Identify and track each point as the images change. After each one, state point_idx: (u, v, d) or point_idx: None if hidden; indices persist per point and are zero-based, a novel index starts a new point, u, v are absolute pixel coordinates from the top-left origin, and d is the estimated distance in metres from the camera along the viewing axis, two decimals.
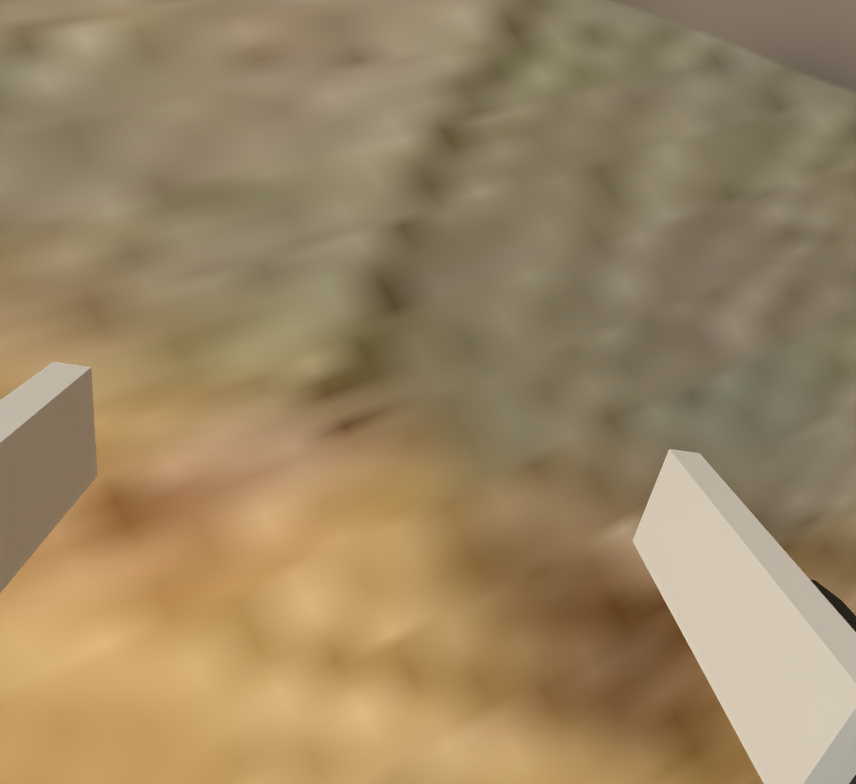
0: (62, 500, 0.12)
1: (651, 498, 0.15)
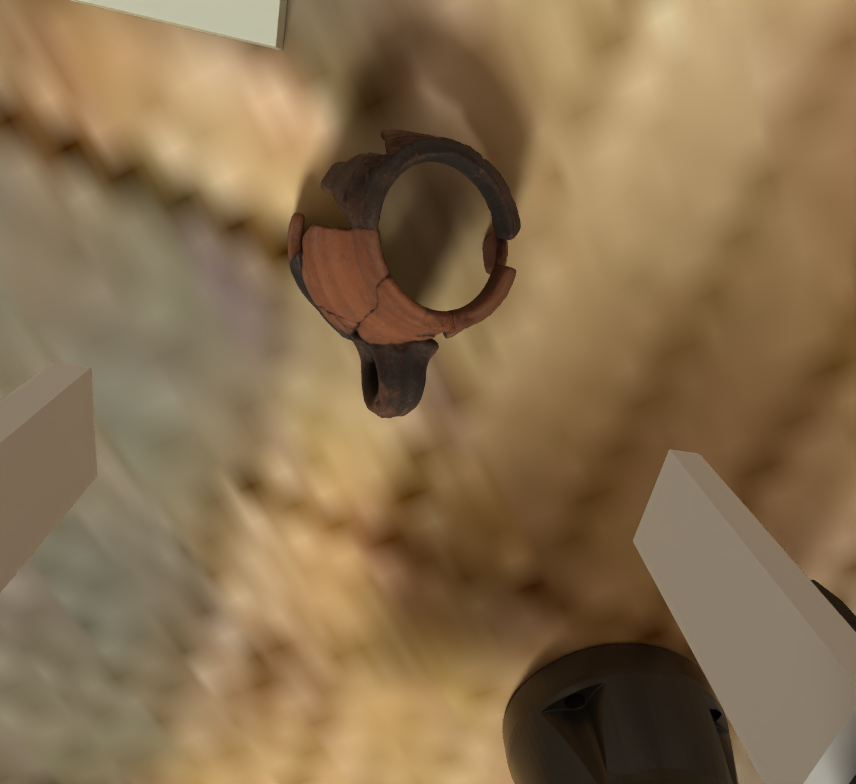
0: (62, 501, 0.12)
1: (651, 497, 0.15)
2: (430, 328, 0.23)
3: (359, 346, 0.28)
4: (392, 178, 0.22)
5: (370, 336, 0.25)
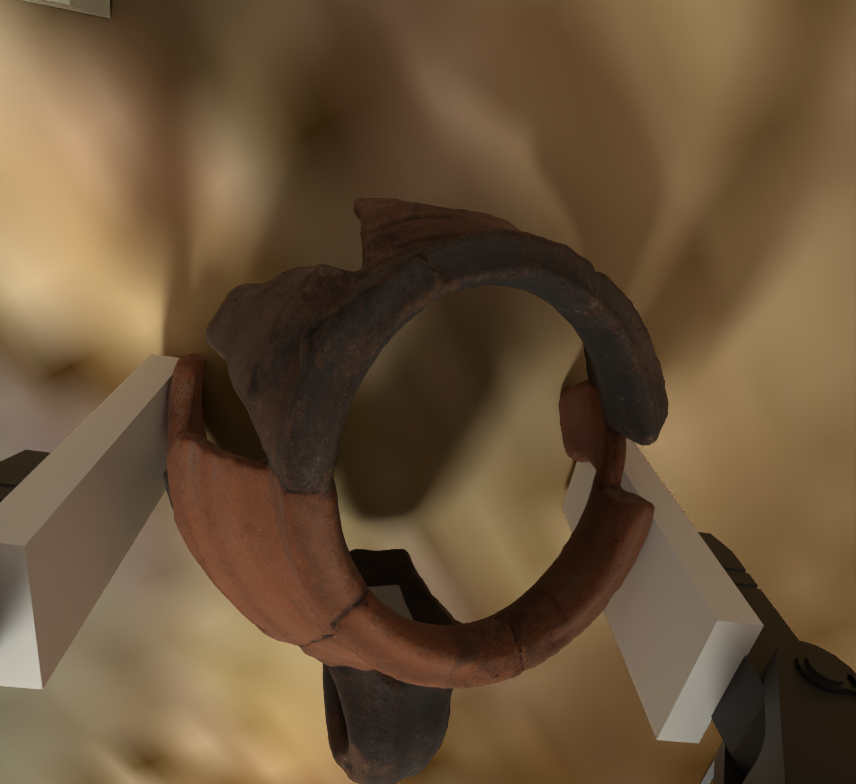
0: (162, 480, 0.13)
1: (577, 465, 0.15)
2: (467, 687, 0.10)
3: None
4: (372, 352, 0.08)
5: None
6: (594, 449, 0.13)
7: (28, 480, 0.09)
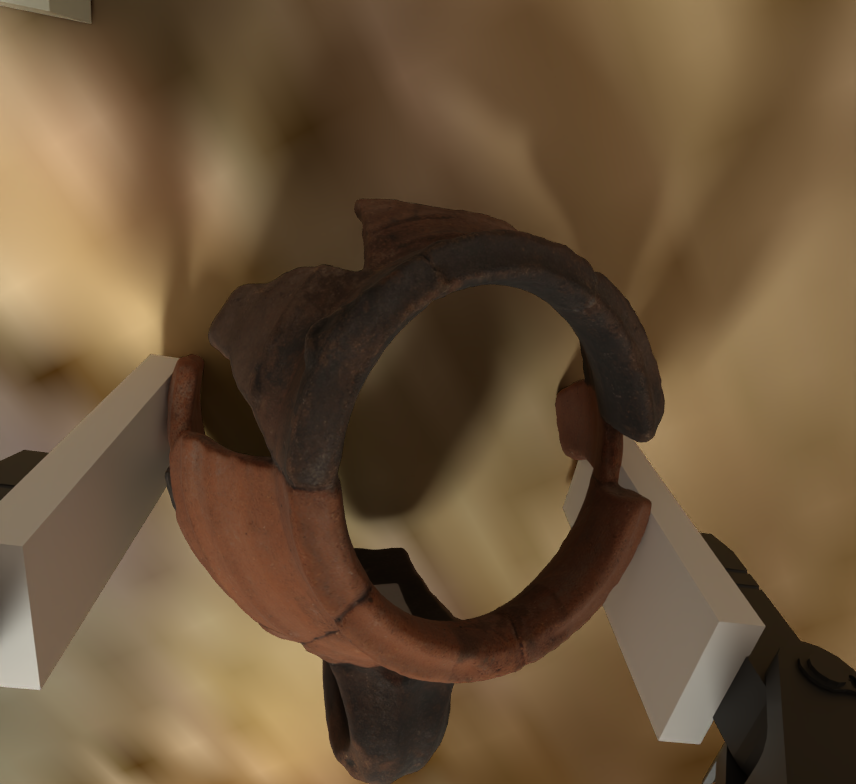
0: (161, 480, 0.13)
1: (578, 465, 0.15)
2: (469, 681, 0.10)
3: None
4: (376, 351, 0.08)
5: None
6: (591, 447, 0.13)
7: (26, 480, 0.09)
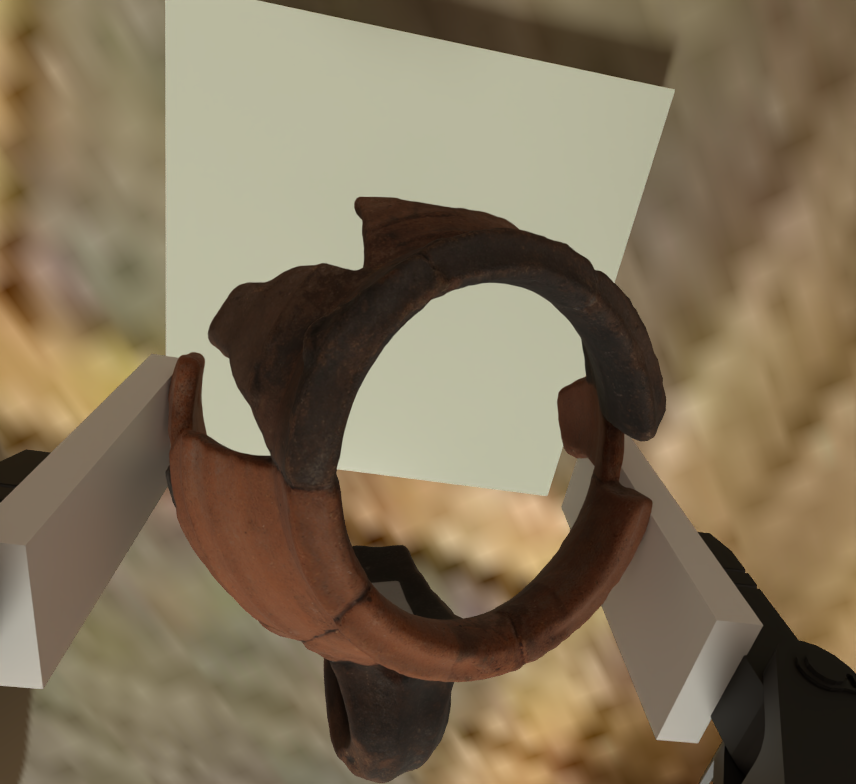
0: (162, 480, 0.13)
1: (577, 465, 0.15)
2: (468, 680, 0.10)
3: None
4: (374, 350, 0.08)
5: None
6: (592, 445, 0.13)
7: (28, 480, 0.09)
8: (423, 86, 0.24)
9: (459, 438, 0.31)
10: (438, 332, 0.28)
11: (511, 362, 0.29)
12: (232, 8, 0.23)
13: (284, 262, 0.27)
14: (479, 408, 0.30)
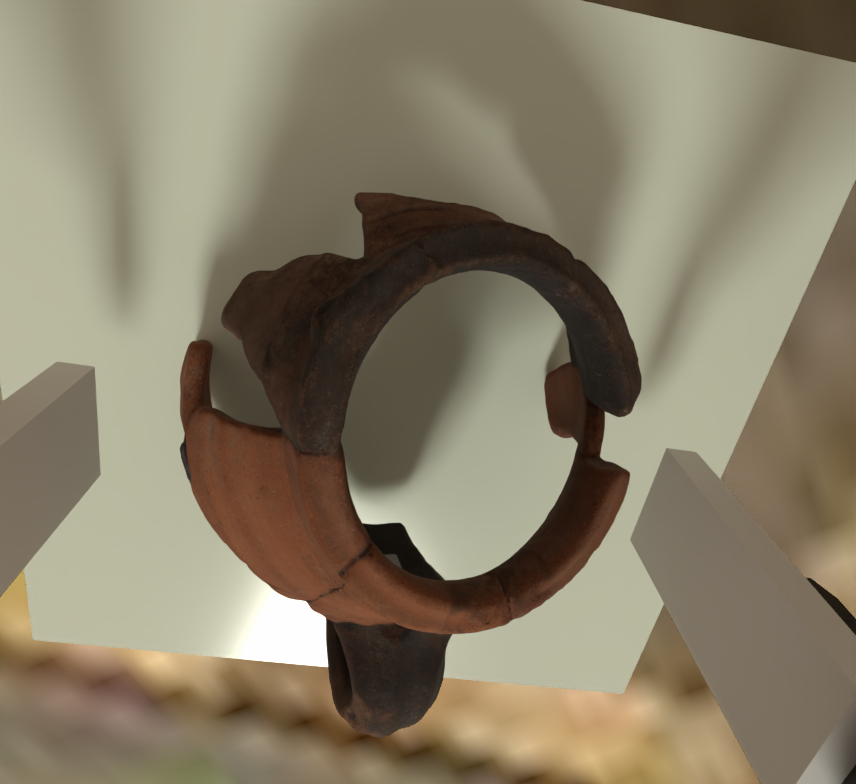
0: (66, 499, 0.12)
1: (649, 496, 0.15)
2: (460, 633, 0.11)
3: None
4: (375, 329, 0.09)
5: (334, 615, 0.12)
6: (576, 425, 0.14)
7: None
8: (444, 66, 0.13)
9: None
10: (463, 474, 0.17)
11: None
12: None
13: None
14: None
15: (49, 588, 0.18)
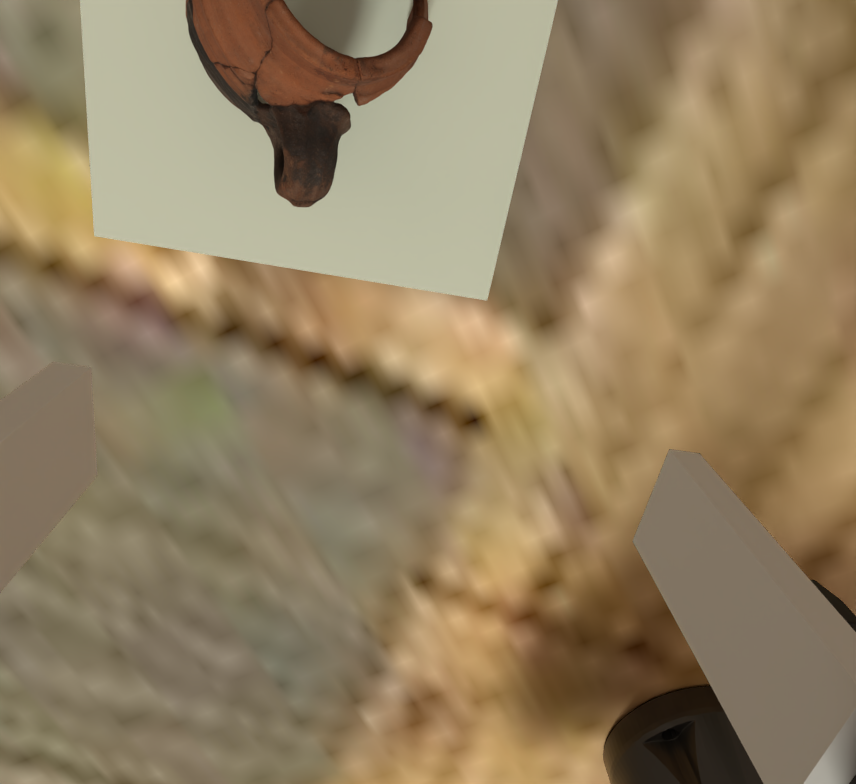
0: (62, 500, 0.12)
1: (651, 498, 0.15)
2: (331, 71, 0.21)
3: (270, 132, 0.26)
4: None
5: (270, 93, 0.22)
6: None
7: None
8: None
9: (394, 231, 0.30)
10: (367, 104, 0.28)
11: (444, 142, 0.29)
12: None
13: None
14: (413, 196, 0.30)
15: (106, 191, 0.29)
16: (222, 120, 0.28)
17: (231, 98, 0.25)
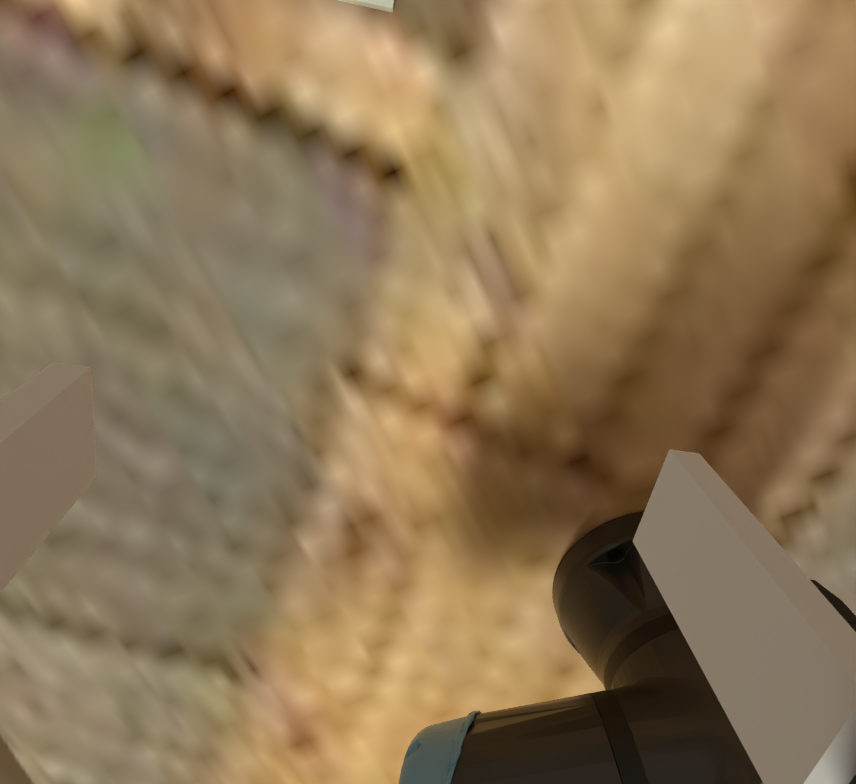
0: (62, 501, 0.12)
1: (651, 497, 0.15)
2: None
3: None
4: None
5: None
6: None
7: None
8: None
9: None
10: None
11: None
12: None
13: None
14: None
15: None
16: None
17: None
